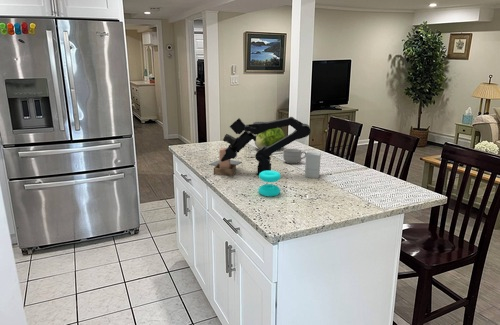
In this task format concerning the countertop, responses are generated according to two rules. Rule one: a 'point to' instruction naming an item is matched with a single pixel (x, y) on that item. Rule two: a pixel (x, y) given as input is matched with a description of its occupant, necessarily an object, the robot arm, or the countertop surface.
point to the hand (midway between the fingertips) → (222, 159)
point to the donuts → (269, 188)
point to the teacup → (293, 155)
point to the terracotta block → (225, 163)
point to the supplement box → (312, 164)
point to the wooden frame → (225, 170)
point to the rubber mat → (230, 162)
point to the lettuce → (269, 137)
